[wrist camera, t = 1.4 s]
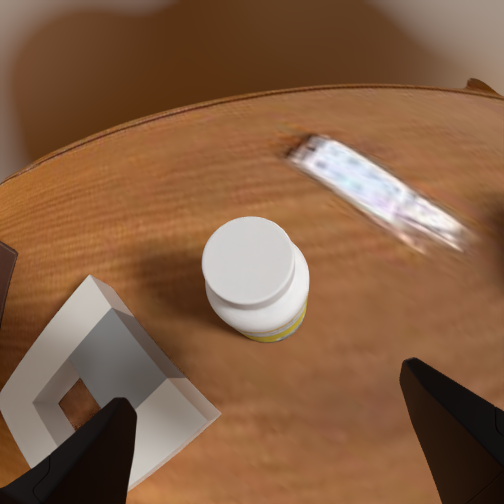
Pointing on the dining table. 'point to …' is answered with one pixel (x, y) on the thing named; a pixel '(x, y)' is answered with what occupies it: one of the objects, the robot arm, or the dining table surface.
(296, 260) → the supplement bottle
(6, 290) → the letter holder
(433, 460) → the robot arm
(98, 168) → the dining table surface
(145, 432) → the socket block
